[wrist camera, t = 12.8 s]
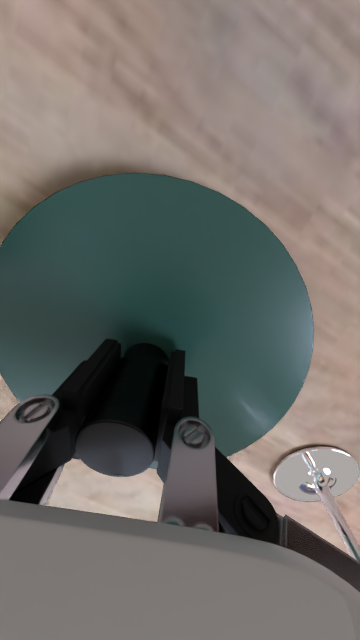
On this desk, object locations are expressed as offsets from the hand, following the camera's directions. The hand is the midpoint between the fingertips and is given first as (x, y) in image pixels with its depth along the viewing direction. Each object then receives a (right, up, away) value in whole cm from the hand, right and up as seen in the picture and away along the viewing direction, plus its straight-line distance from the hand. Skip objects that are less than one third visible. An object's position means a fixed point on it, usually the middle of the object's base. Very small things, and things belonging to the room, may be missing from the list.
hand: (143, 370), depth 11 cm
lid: (0, 0, +1) cm, 1 cm away
